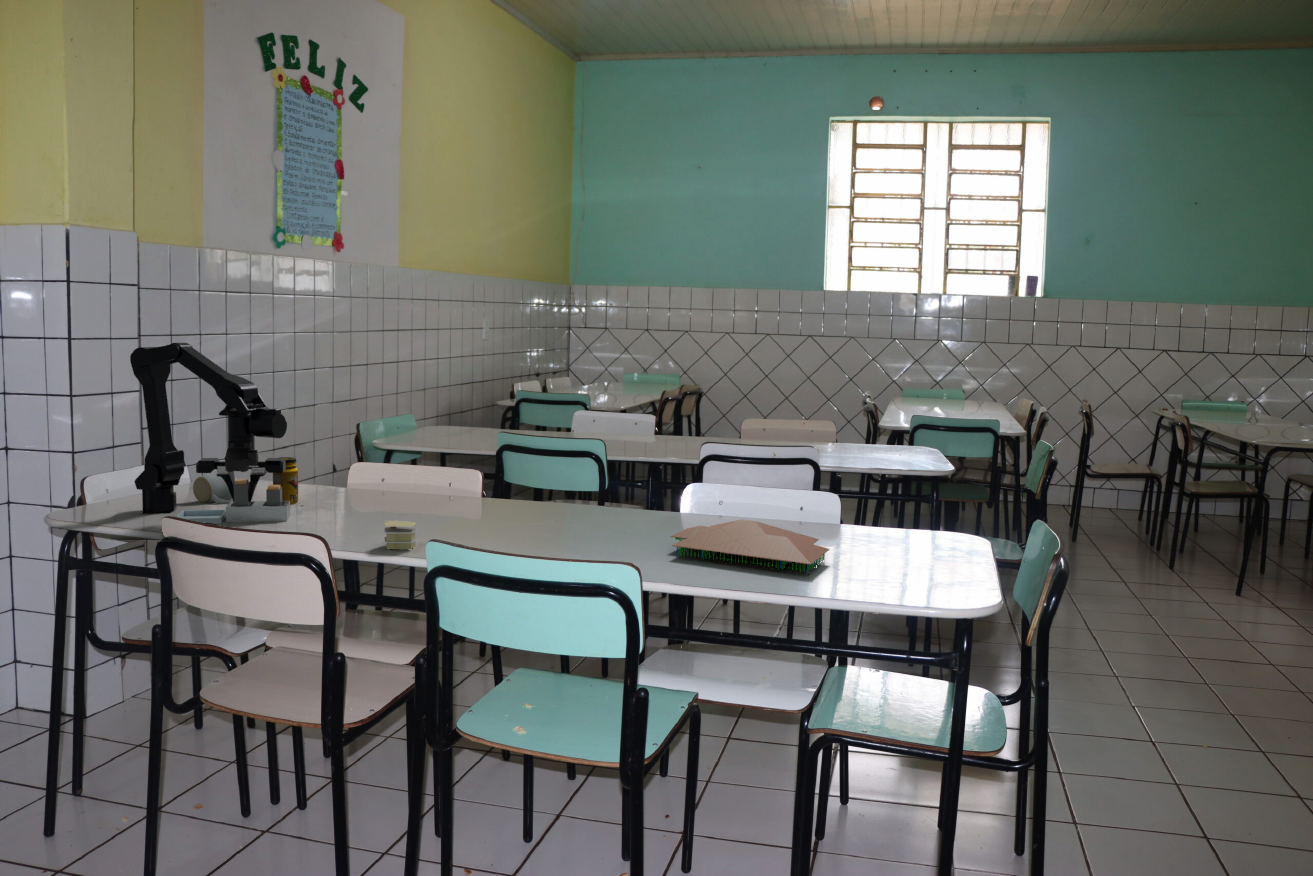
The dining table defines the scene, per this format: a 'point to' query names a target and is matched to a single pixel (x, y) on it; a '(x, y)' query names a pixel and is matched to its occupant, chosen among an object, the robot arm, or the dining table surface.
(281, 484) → the condiment
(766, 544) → the house
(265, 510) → the grey socket block
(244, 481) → the plug
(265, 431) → the robot arm
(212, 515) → the tray
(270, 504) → the twin plug
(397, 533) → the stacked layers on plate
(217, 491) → the ceramic mug
